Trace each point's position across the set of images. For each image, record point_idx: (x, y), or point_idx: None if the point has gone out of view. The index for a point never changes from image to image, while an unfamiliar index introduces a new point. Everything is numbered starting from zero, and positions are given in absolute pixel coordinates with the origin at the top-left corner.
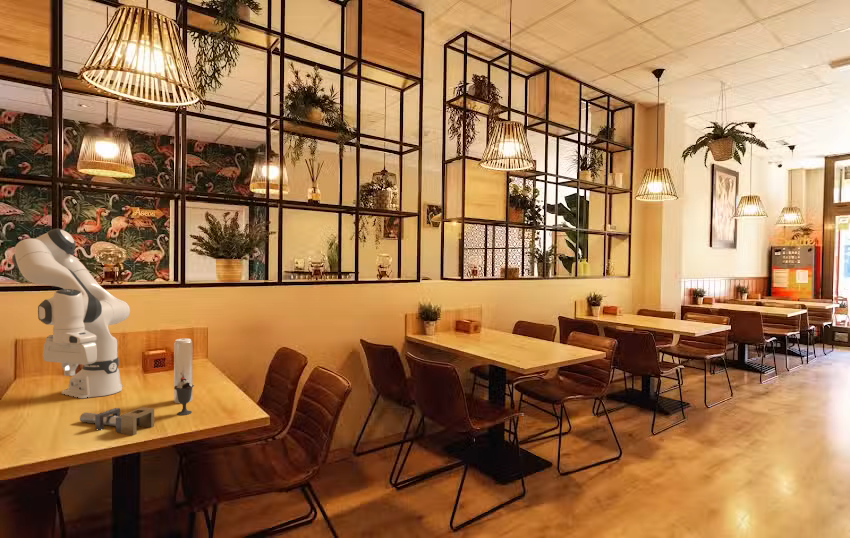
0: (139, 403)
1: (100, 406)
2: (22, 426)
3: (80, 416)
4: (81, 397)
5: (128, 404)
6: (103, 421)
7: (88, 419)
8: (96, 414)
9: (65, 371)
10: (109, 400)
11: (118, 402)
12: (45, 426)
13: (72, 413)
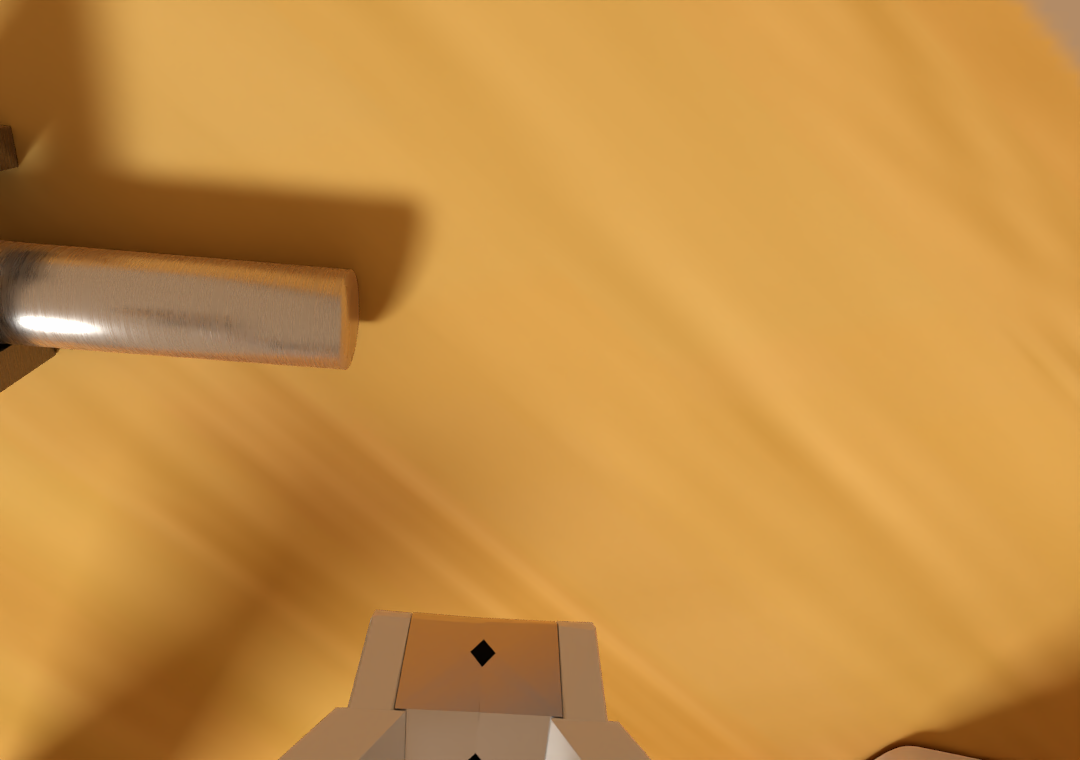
0: None
1: None
2: (878, 62)
3: (339, 285)
4: (906, 754)
5: None
6: (5, 244)
7: (220, 261)
8: (143, 316)
9: (539, 696)
10: None
11: None
12: (629, 112)
13: (680, 466)
